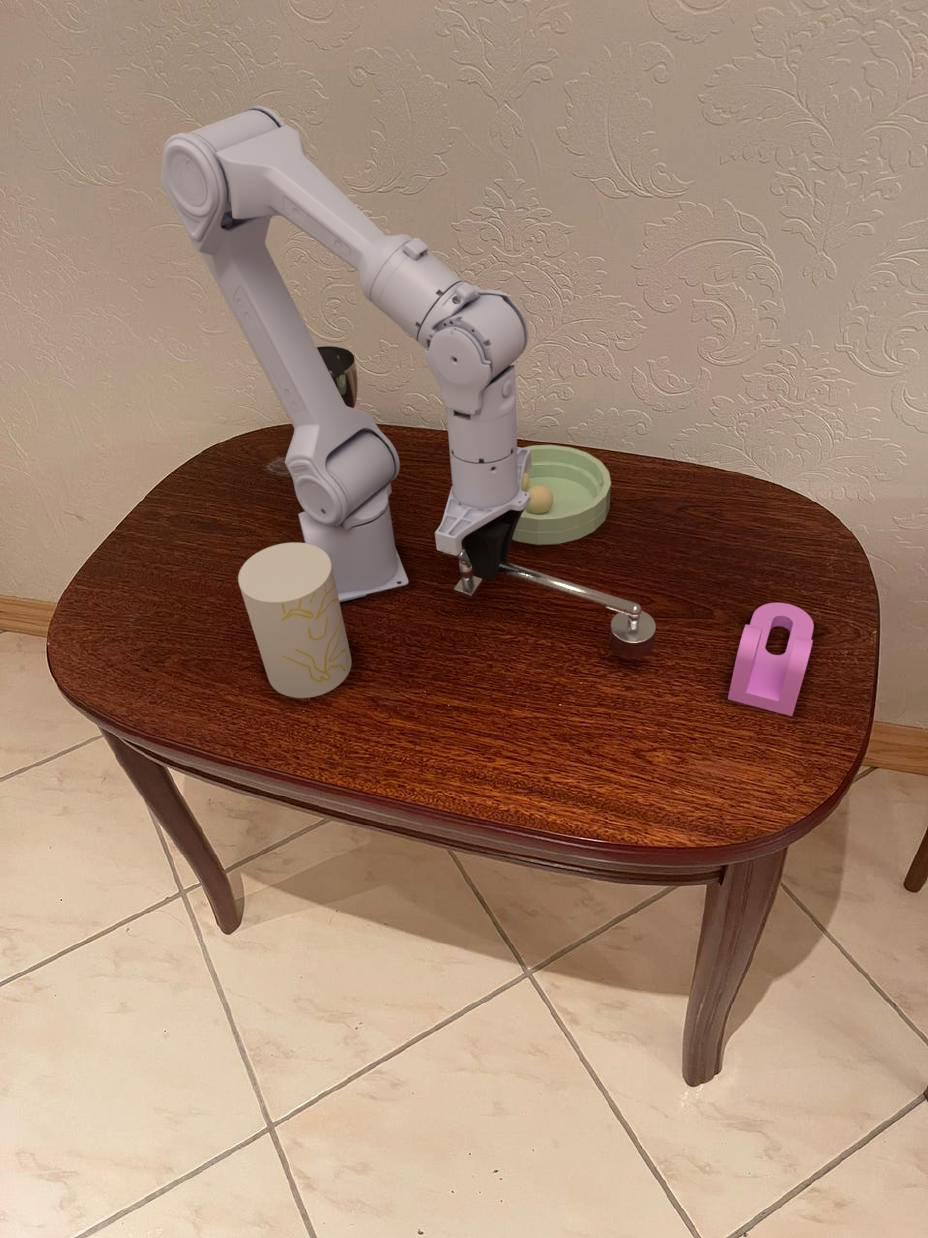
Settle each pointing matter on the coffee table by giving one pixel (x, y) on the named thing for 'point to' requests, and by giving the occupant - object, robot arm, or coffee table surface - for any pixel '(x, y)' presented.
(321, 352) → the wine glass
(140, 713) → the coffee table surface
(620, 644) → the weighted chrome rod
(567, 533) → the bowl
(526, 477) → the dough ball
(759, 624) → the bracket
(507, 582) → the coffee table surface
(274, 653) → the cream cylinder
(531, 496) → the dough ball
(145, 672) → the coffee table surface
